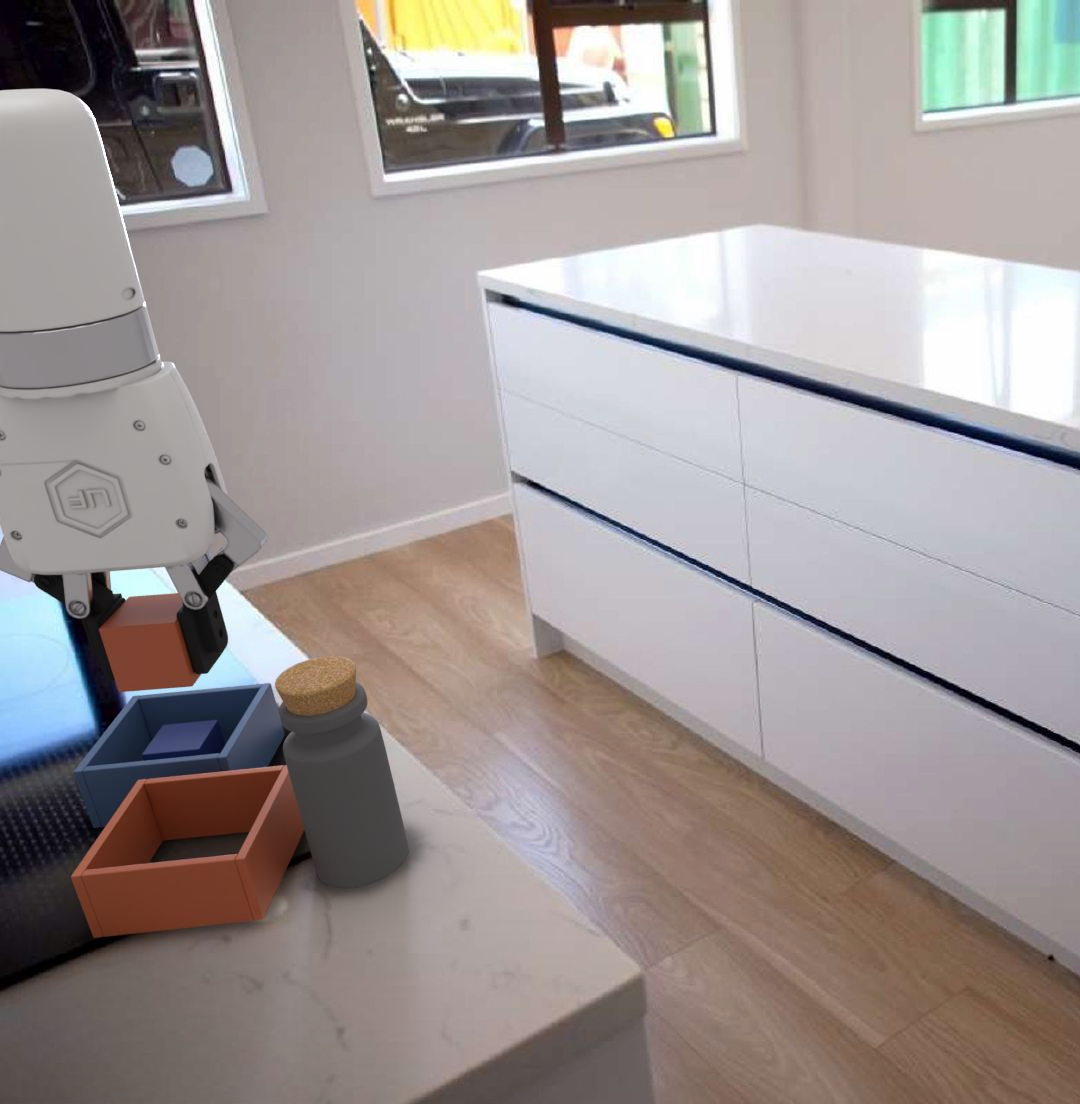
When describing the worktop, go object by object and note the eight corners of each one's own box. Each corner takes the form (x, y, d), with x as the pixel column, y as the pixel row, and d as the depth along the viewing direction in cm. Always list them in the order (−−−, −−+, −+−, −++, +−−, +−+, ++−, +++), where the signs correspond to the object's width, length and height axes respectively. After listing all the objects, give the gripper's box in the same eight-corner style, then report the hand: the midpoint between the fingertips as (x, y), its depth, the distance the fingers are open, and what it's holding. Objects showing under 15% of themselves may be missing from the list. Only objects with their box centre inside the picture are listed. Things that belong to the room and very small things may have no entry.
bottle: (300, 894, 81) (243, 694, 75) (352, 838, 86) (302, 647, 80) (380, 904, 80) (329, 702, 74) (428, 847, 85) (383, 654, 79)
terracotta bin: (97, 949, 78) (70, 876, 75) (160, 847, 87) (137, 779, 84) (266, 931, 78) (244, 858, 76) (311, 831, 87) (292, 764, 85)
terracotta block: (118, 692, 69) (97, 629, 68) (147, 657, 73) (128, 596, 71) (192, 687, 70) (174, 623, 68) (218, 652, 73) (201, 590, 71)
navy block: (156, 801, 91) (141, 754, 89) (177, 769, 94) (162, 724, 93) (213, 795, 91) (199, 748, 89) (231, 764, 95) (218, 719, 93)
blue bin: (96, 838, 88) (72, 772, 86) (153, 757, 97) (132, 695, 95) (246, 823, 89) (226, 756, 86) (287, 744, 98) (270, 682, 96)
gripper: (-145, 382, 60) (-21, 713, 67) (217, 359, 61) (299, 687, 68) (-58, 342, 66) (46, 646, 74) (266, 321, 67) (336, 623, 75)
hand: (166, 662), depth 71 cm, fingers closed on terracotta block, 4 cm apart
